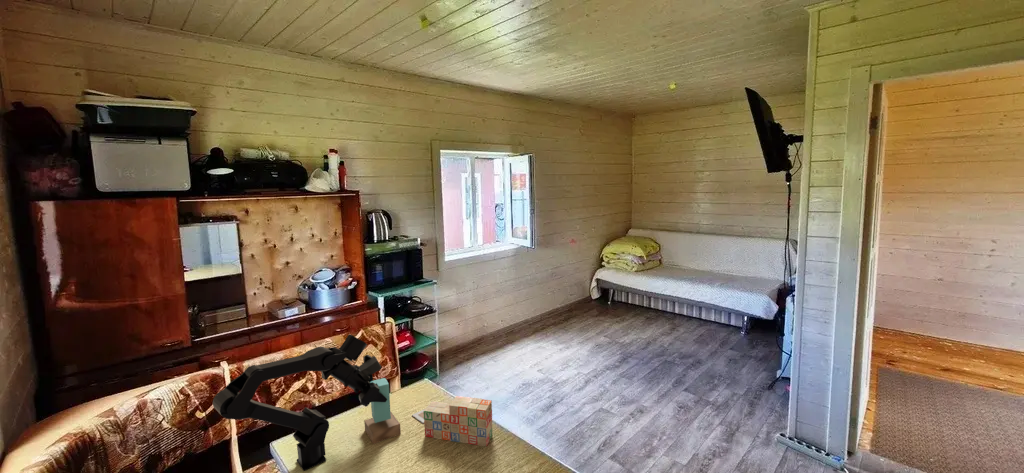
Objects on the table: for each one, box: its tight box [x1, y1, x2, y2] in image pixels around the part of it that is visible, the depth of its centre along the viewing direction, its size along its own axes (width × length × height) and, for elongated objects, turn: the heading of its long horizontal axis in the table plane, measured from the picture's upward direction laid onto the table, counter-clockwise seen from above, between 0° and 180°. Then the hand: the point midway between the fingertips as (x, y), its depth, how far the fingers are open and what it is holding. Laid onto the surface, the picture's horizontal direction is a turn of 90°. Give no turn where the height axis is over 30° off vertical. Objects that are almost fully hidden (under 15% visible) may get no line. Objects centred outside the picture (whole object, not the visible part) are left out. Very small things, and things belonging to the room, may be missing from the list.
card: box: [411, 408, 425, 424], centre depth 152 cm, size 10×7×1 cm
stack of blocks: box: [423, 395, 493, 447], centre depth 138 cm, size 21×6×12 cm, turn 75°
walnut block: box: [363, 411, 401, 445], centre depth 141 cm, size 9×9×4 cm
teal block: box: [370, 377, 391, 423], centre depth 140 cm, size 5×5×12 cm
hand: (384, 397), depth 140 cm, fingers closed on teal block, 5 cm apart
